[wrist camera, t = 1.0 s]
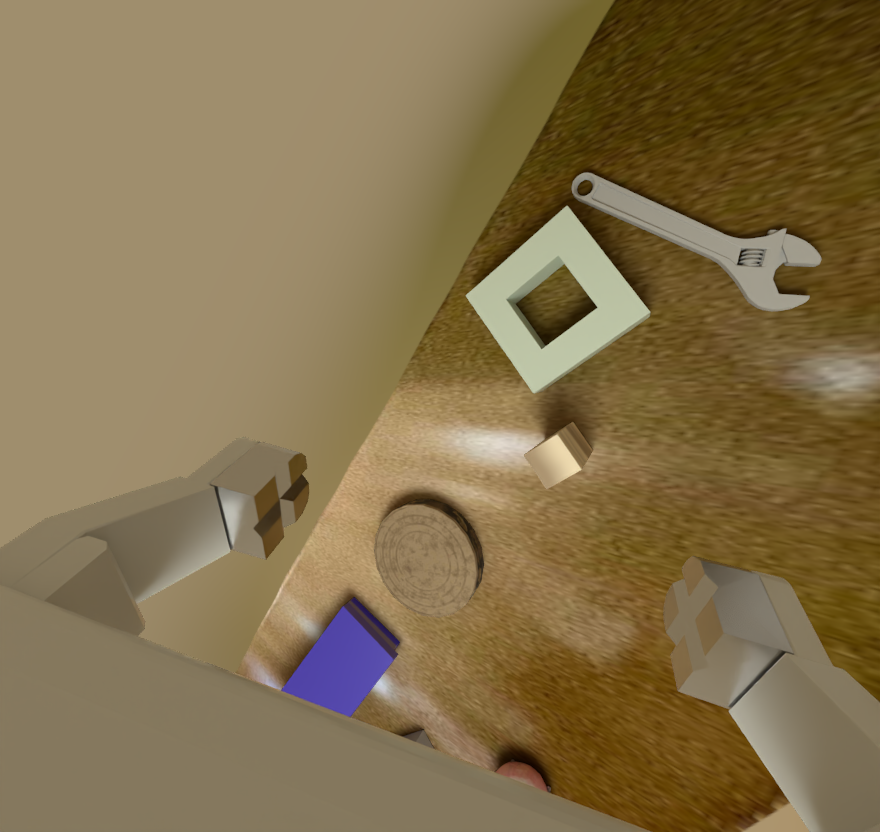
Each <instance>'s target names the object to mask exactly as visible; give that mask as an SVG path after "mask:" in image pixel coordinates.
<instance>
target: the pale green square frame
mask: <svg viewBox="0 0 880 832" xmlns="http://www.w3.org/2000/svg"><path fill="white" fill-rule="evenodd" d="M563 264H565V265H566V266H567V267H568V269H569V270H570V271H571V273H572V274H573V275H574V277H575V278H576V279H577V281H578V282H579V283H580V285H581V286H582V287H583V289H584V290H585V291H586V293H587V294H588V295H589V297H590V298H591V299H592V301H593V302H594V303H595V305H596V306H597V307H598V308H596V309H595V310H594V311H592V312H591V313H590V314H588V315H587V316H586V317H584V318H583V319H582V320H580V321H579V322H578V323H576V324H575V325H574V326H572V327H571V328H570V329H568V330H567V331H566V332H564V333H563V334H562V335H560V336H559V337H557V338H556V339H555V340H553V341H552V342H551V343H549V344H548V345H547V346H545V344H544V343H543V342H542V340H541V339H540V337H539V336H538V335H537V333H536V332H535V330H534V329H533V328H532V326H531V325H530V323H529V322H528V321H527V319H526V318H525V316H524V315H523V314H522V312H521V311H520V309H519V308H518V307H517V305H516V303H517V302H519V301H520V300H521V299H522V298H523V297H525V296H526V295H527V294H528V293H530V292H531V291H532V290H533V289H534V288H536V287H537V286H538V285H539V284H540V283H542V282H543V281H544V280H545V279H547V278H548V277H549V276H550V275H551V274H553V273H554V272H555V271H556V270H557V269H559V268H560V267H561V266H562V265H563ZM466 297H467V298H468V300H469V301H470V303H471V304H472V306H473V307H474V309H475V310H476V311H477V313H478V314H479V316H480V317H481V319H482V320H483V322H484V323H485V324H486V326H487V327H488V329H489V330H490V332H491V333H492V334H493V336H494V337H495V339H496V340H497V342H498V343H499V345H500V346H501V347H502V349H503V350H504V352H505V353H506V355H507V356H508V357H509V359H510V360H511V362H512V363H513V365H514V366H515V368H516V369H517V370H518V372H519V373H520V375H521V376H522V378H523V379H524V381H525V382H526V383H527V385H528V386H529V388H530V389H531V391H532V392H533V393H538V392H542V391H543V390H545V389H546V388H548V387H549V386H550V385H552V384H553V383H555V382H556V381H558V380H559V379H561V378H562V377H563V376H565V375H566V374H568V373H569V372H571V371H572V370H574V369H575V368H576V367H578V366H579V365H581V364H582V363H584V362H585V361H587V360H588V359H589V358H591V357H592V356H594V355H595V354H597V353H598V352H600V351H601V350H602V349H604V348H605V347H607V346H608V345H610V344H611V343H612V342H614V341H615V340H617V339H618V338H620V337H621V336H623V335H624V334H625V333H627V332H628V331H630V330H631V329H633V328H634V327H636V326H637V325H638V324H640V323H641V322H643V321H644V320H646V319H647V318H649V317H650V311H649V310H648V308H647V307H646V306H645V305H644V303H643V302H642V301H641V299H640V298H639V297H638V296H637V294H636V293H635V292H634V290H633V289H632V288H631V287H630V285H629V284H628V283H627V281H626V280H625V279H624V278H623V276H622V275H621V274H620V272H619V271H618V270H617V269H616V267H615V266H614V265H613V264H612V262H611V261H610V260H609V258H608V257H607V256H606V255H605V253H604V252H603V251H602V249H601V248H600V247H599V246H598V244H597V243H596V242H595V240H594V239H593V238H592V237H591V235H590V234H589V233H588V231H587V230H586V229H585V228H584V226H583V225H582V224H581V222H580V221H579V220H578V219H577V217H576V216H575V215H574V213H573V212H572V211H571V210H570V208H569V207H568V206H566V207H565V208H564V209H562V210H561V211H560V212H559V213H558V214H557V215H556V216H555V217H553V218H552V219H551V220H550V221H549V222H548V223H547V224H546V225H544V226H543V227H542V228H541V229H540V230H539V231H538V232H537V233H535V234H534V235H533V236H532V237H531V238H530V239H529V240H528V241H526V242H525V243H524V244H523V245H522V246H521V247H520V248H519V249H517V250H516V251H515V252H514V253H513V254H512V255H511V256H510V257H509V258H507V259H506V260H505V261H504V262H503V263H502V264H501V265H500V266H498V267H497V268H496V269H495V270H494V271H493V272H492V273H491V274H489V275H488V276H487V277H486V278H485V279H484V280H483V281H482V282H480V283H479V284H478V285H477V286H476V287H475V288H474V289H473V290H471V291H470V292H469V293H468V294H467V295H466Z"/></svg>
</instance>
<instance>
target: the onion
mask: <svg viewBox="0 0 880 832" xmlns="http://www.w3.org/2000/svg"><path fill="white" fill-rule="evenodd" d="M496 773H499V774H501V775H504V776H506V777H509V778H512V779H514V780H517V781H520V782H522V783H525V784H527V785H530V786H533V787H535V788H538V789H541V790H543V791H546V792H549V793H550V790H551V787H549V786H548V787H546V785H545V783H544V781H543V779H542V777H541V775H540V773H538V772H537V771H536V770H535V769H534V768H533V767H531V766H530V765H528V764H526V763H521V762H516V761H515V760H514V759H512V760H511V762H508V763H506V764H504V765H502V766H501V767H500V768H499V769H498V770H497V771H496Z"/></svg>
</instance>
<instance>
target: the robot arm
mask: <svg viewBox="0 0 880 832" xmlns="http://www.w3.org/2000/svg"><path fill="white" fill-rule="evenodd" d="M306 469H307V463H306V456H304V455H303V454H302V453H299V452H296V451H292V450H289V449H285V448H282V447H278V446H275V445H272V444H268V443H265V442H259V441H256V440H253V439H249V438H246V437H242V438H237V439H236V440H234V441H233V442H232V443H231V444H229V445H228V446H227V447H225V448H224V449H223V450H222V451H220V452H219V453H218V454H217V455H215V456H214V457H213V458H212V459H210V460H209V461H208V462H206V463H205V464H204V465H203V466H201V467H200V468H199V469H198V470H196V471H195V472H194V473H192V474H191V475H190V476H189V477H188V478H183V477H178V478H174V479H171V480H168V481H165V482H161V483H158V484H155V485H152V486H149V487H146V488H142V489H139V490H136V491H132V492H129V493H126V494H123V495H120V496H116V497H113V498H110V499H107V500H103V501H100V502H97V503H94V504H91V505H88V506H84V507H81V508H78V509H74V510H71V511H68V512H65V513H62V514H58V515H55V516H52V517H49V518H45V519H44V520H42V521H41V522H39V523H38V524H36V525H35V526H33V527H32V528H30V529H28V530H27V531H25V532H24V533H22V534H21V535H20V536H18V537H17V538H15V539H13V540H12V541H10V542H9V543H7V544H6V545H4V546H3V547H1V548H0V832H651V831H648V830H646V829H643V828H640V827H638V826H635V825H633V824H630V823H627V822H625V821H622V820H619V819H617V818H614V817H612V816H609V815H606V814H604V813H601V812H598V811H596V810H593V809H591V808H588V807H585V806H583V805H580V804H577V803H575V802H572V801H570V800H567V799H564V798H562V797H559V796H556V795H554V794H551V793H549V792H546V791H543V790H541V789H538V788H535V787H533V786H530V785H527V784H525V783H522V782H520V781H517V780H514V779H512V778H509V777H506V776H504V775H501V774H499V773H496V772H493V771H491V770H488V769H485V768H483V767H480V766H478V765H475V764H472V763H470V762H467V761H464V760H462V759H459V758H457V757H454V756H451V755H449V754H446V753H443V752H441V751H438V750H436V749H433V748H430V747H428V746H425V745H422V744H420V743H417V742H415V741H412V740H409V739H407V738H404V737H401V736H399V735H396V734H394V733H391V732H388V731H386V730H383V729H380V728H378V727H375V726H372V725H370V724H367V723H365V722H362V721H359V720H357V719H354V718H351V717H349V716H346V715H344V714H341V713H338V712H336V711H333V710H330V709H328V708H325V707H323V706H320V705H317V704H315V703H312V702H309V701H307V700H304V699H302V698H299V697H296V696H294V695H291V694H288V693H286V692H283V691H280V690H278V689H275V688H273V687H270V686H267V685H265V684H262V683H259V682H257V681H254V680H252V679H249V678H246V677H244V676H241V675H238V674H236V673H233V672H230V671H228V670H225V669H223V668H220V667H217V666H214V665H212V664H209V663H207V662H204V661H202V660H199V659H196V658H194V657H191V656H188V655H185V654H183V653H180V652H178V651H175V650H172V649H170V648H167V647H164V646H162V645H159V644H156V643H154V642H152V641H149V640H146V639H144V638H141V637H138V635H139V634H140V633H141V632H142V631H143V630H144V629H145V620H144V618H143V616H142V614H141V612H140V610H139V608H138V606H137V604H138V603H139V602H141V601H143V600H145V599H147V598H148V597H150V596H152V595H154V594H156V593H157V592H159V591H161V590H163V589H164V588H166V587H168V586H170V585H172V584H173V583H175V582H177V581H179V580H181V579H183V578H184V577H186V576H188V575H190V574H191V573H193V572H195V571H197V570H199V569H201V568H202V567H204V566H206V565H208V564H209V563H211V562H213V561H215V560H217V559H219V558H220V557H222V556H224V555H226V554H227V553H229V552H230V550H234V551H237V552H241V553H244V554H248V555H251V556H255V557H258V558H262V559H267V558H268V556H269V555H270V554H271V553H272V551H273V550H274V549H275V548H276V546H277V545H278V544H279V543H280V541H281V540H282V539H283V538H284V527H286V526H289V525H291V524H293V523H295V522H296V521H297V520H298V518H299V517H300V516H301V514H302V513H303V511H304V509H305V507H306V504H307V502H308V496H309V483H308V482H307V480H306V479H305V477H304V476H303V475H302V473H303V472H304V471H305V470H306ZM682 572H683V575H684V579H683V580H680V581H678V582H675V583H673V584H672V586H671V587H670V589H669V591H668V593H667V595H666V599H665V604H664V623H665V629H666V633H667V634H668V635H669V637H670V638H671V639H672V640H673V642H674V643H675V644H676V645H677V646H676V647H675V649H674V650H673V652H672V653H671V660H672V665H673V670H674V675H675V680H676V685H677V690H678V691H679V692H682V693H684V694H687V695H690V696H693V697H696V698H699V699H702V700H705V701H707V702H710V703H713V704H716V705H719V706H722V707H725V708H728V709H730V710H729V713H730V714H731V716H732V717H733V719H734V720H735V722H736V723H737V725H738V726H739V727H740V729H741V730H742V732H743V733H744V735H745V736H746V738H747V739H748V741H749V742H750V744H751V745H752V747H753V748H754V750H755V751H756V753H757V754H758V756H759V757H760V759H761V760H762V761H763V763H764V764H765V766H766V767H767V769H768V770H769V772H770V773H771V775H772V776H773V778H774V779H775V781H776V782H777V784H778V785H779V787H780V788H781V790H782V791H783V793H784V794H785V795H786V797H787V798H788V800H789V801H790V803H791V804H792V806H793V807H794V809H795V810H796V812H797V813H798V815H799V816H800V818H801V819H802V821H803V822H804V824H805V825H806V827H807V828H808V829H809V831H810V832H880V702H878V701H877V700H876V699H875V698H874V697H873V696H872V695H871V694H870V693H869V692H868V691H867V690H865V689H864V688H863V687H862V686H861V685H860V684H859V683H858V682H857V681H856V680H855V679H853V678H852V677H851V676H850V675H849V674H848V673H847V672H846V671H845V670H843V669H840V668H837V667H833V665H832V663H831V661H830V659H829V657H828V655H827V654H826V652H825V650H824V648H823V646H822V644H821V642H820V640H819V638H818V636H817V634H816V632H815V631H814V629H813V627H812V625H811V623H810V621H809V619H808V617H807V615H806V613H805V611H804V609H803V608H802V606H801V604H800V602H799V600H798V598H797V596H796V594H795V592H794V590H793V588H792V586H791V585H790V584H789V583H788V582H787V581H786V580H785V579H784V578H780V577H776V576H772V575H768V574H764V573H760V572H756V571H749V570H747V569H743V568H739V567H735V566H731V565H727V564H723V563H719V562H715V561H711V560H708V559H704V558H700V557H696V556H692V557H691V558H689V559H688V560H687V561H686V563H685V564H684V566H683V567H682Z"/></svg>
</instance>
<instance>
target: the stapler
mask: <svg viewBox="0 0 880 832" xmlns="http://www.w3.org/2000/svg"><path fill="white" fill-rule="evenodd" d="M399 643H400V642H399V641H398V640H397V639H396V638H395V637H394V636H393V635H392V634H391V633H390V632H389V631H388V630H387V629H386V628H385V627H384V626H383V625H382V624H381V623H380V622H379V621H378V620H377V619H376V618H375V617H374V616H373V615H372V614H371V613H370V612H369V611H368V610H367V609H366V608H365V607H364V606H363V605H362V604H361V603H360V602H359V601H358V600H357V599H356V598H355V597H354V598H353V599H351V600H350V601H349V602H348V603H347V604H345V605H344V606H343V607H342V608H341V610H340V611H339V612H338V614H337V615H336V616H335V618H334V619H333V620H332V622H331V623H330V625H329V626H328V627H327V629H326V630H325V631H324V633H323V634H322V635H321V637H320V638H319V640H318V641H317V642H316V644H315V645H314V646H313V648H312V649H311V650H310V652H309V653H308V655H307V656H306V657H305V659H304V660H303V661H302V663H301V664H300V665H299V667H298V668H297V670H296V671H295V672H294V674H293V675H292V676H291V678H290V679H289V680H288V682H287V683H286V685H285V686H284V687H283V689H282V690H281V691H283V692H286V693H288V694H291V695H294V696H296V697H299V698H302V699H304V700H307V701H309V702H312V703H315V704H317V705H320V706H323V707H325V708H328V709H330V710H333V711H336V712H338V713H341V714H344V715H346V716H349V717H351V715H352V714H353V713H354V711H355V710H356V709H357V707H358V706H359V705H360V704H361V702H362V701H363V700H364V698H365V697H366V696H367V694H368V693H369V692H370V691H371V689H372V688H373V687H374V685H375V684H376V683H377V681H378V680H379V679H380V678H381V676H382V675H383V674H384V672H385V671H386V670H387V668H388V667H389V666H390V665H391V663H392V662H393V661H394V659H395V658H396V657H397V655H398V654H397V653H396V652H395V649H396V647H397V646H398V644H399Z"/></svg>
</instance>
